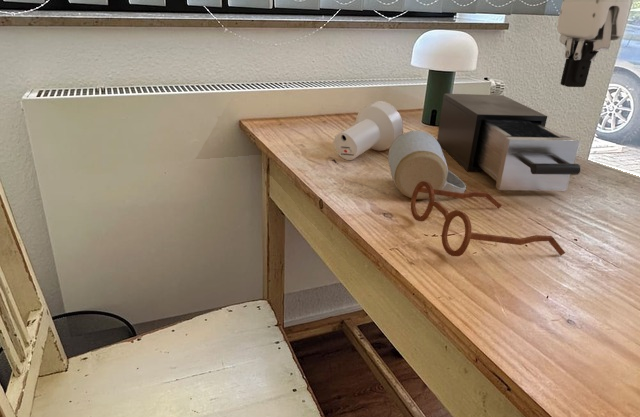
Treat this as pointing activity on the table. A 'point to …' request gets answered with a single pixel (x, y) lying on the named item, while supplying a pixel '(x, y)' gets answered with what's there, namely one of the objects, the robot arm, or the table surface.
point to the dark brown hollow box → (476, 122)
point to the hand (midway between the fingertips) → (572, 85)
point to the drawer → (526, 155)
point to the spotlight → (370, 131)
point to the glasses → (467, 220)
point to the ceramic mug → (420, 165)
